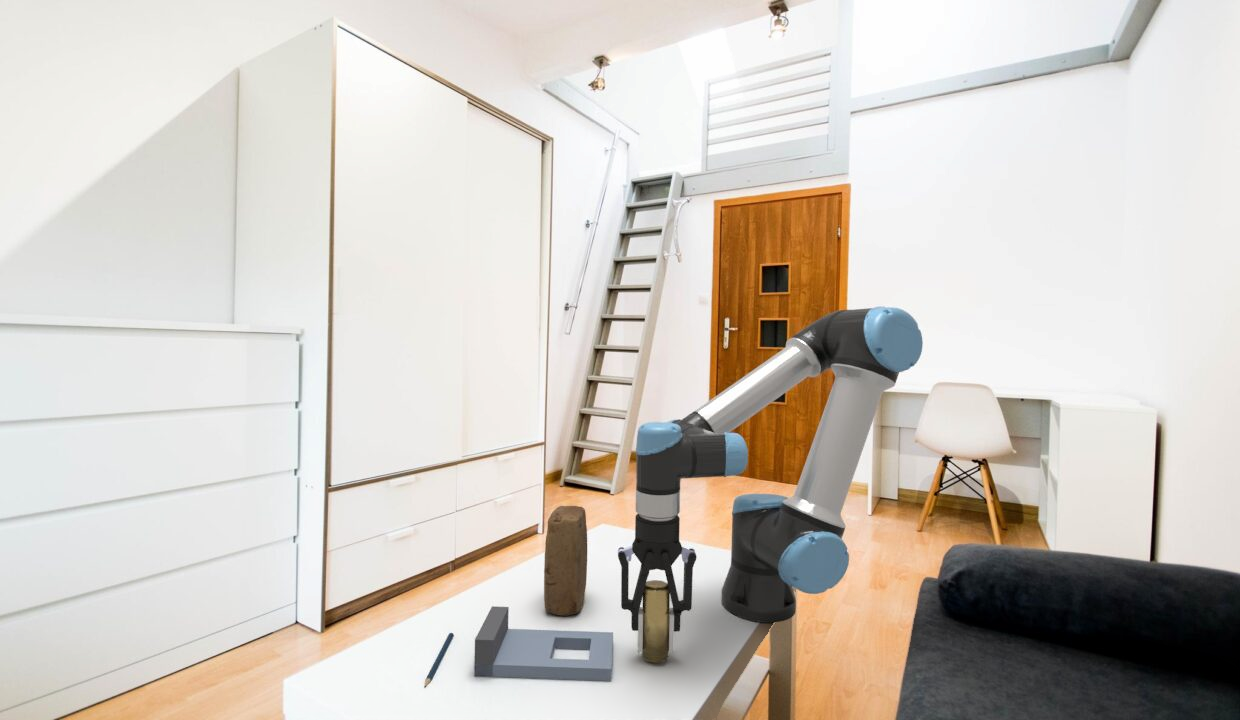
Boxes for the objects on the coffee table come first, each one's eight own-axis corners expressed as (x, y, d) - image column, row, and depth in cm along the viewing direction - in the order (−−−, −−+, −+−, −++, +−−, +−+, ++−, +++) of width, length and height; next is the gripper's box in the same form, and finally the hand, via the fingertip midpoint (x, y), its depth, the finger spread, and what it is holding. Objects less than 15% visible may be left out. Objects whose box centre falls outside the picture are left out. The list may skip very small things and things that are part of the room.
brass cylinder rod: (667, 647, 96) (668, 580, 96) (669, 663, 91) (670, 592, 91) (641, 647, 96) (642, 580, 96) (642, 662, 92) (643, 592, 91)
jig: (612, 643, 98) (613, 610, 98) (611, 681, 87) (612, 644, 87) (491, 639, 99) (491, 606, 98) (474, 676, 88) (474, 639, 87)
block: (577, 620, 106) (579, 518, 105) (540, 616, 107) (542, 515, 107) (589, 595, 117) (592, 502, 116) (556, 591, 118) (558, 500, 117)
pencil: (453, 637, 99) (427, 690, 84) (448, 637, 99) (421, 690, 84) (453, 633, 99) (428, 685, 84) (448, 632, 99) (421, 684, 84)
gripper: (706, 508, 97) (703, 637, 97) (606, 506, 97) (605, 635, 98) (712, 522, 89) (709, 662, 90) (605, 520, 89) (603, 659, 90)
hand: (655, 647), depth 94 cm, fingers closed on brass cylinder rod, 4 cm apart
